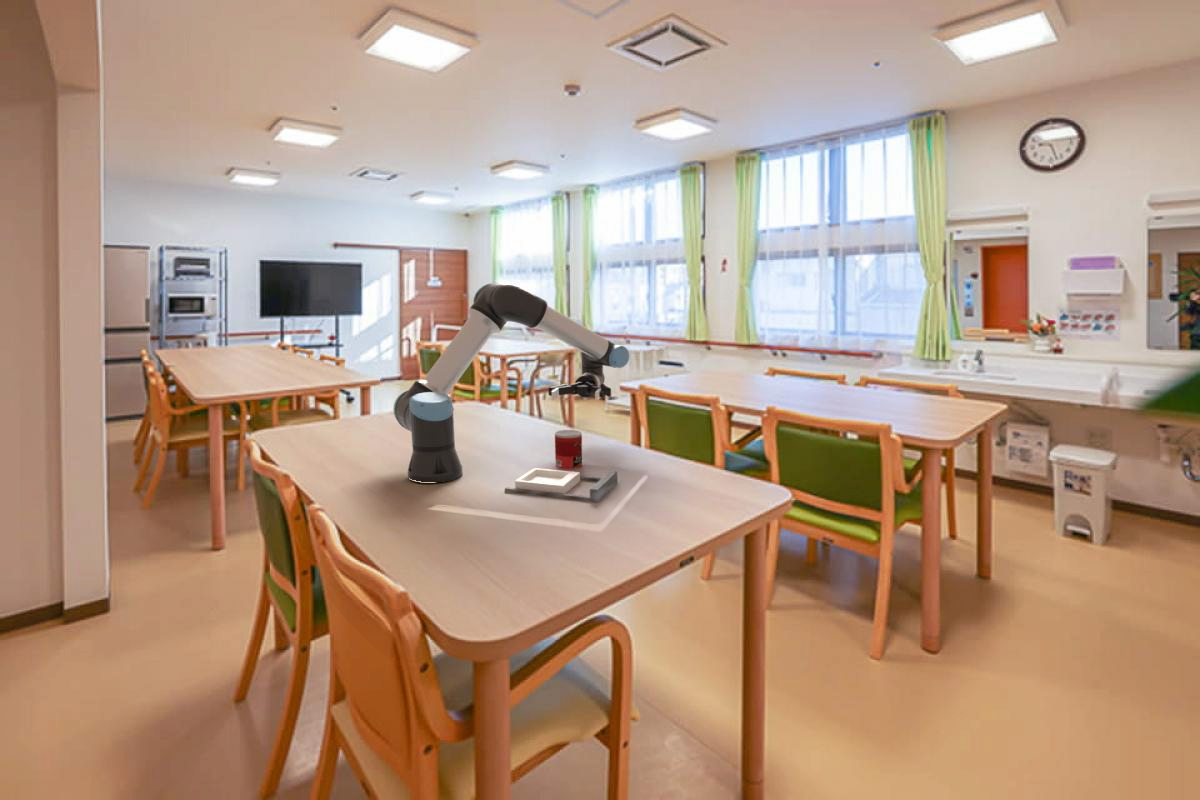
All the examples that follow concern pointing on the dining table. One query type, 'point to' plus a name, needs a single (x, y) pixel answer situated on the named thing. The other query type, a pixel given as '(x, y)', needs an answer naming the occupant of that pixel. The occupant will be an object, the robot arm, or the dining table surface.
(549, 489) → the carriage
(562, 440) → the canned food
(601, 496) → the slide board
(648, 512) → the dining table surface
